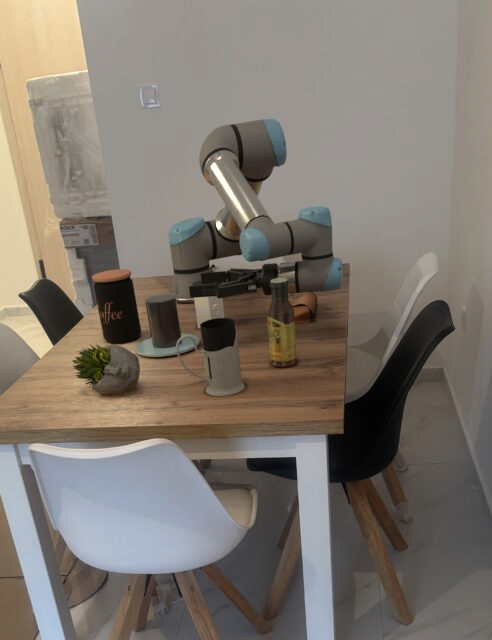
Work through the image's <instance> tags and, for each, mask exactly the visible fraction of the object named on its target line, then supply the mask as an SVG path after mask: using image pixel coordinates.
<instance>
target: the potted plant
mask: <svg viewBox="0 0 492 640" xmlns="http://www.w3.org/2000/svg"><path fill="white" fill-rule="evenodd" d="M89 346H90V347H91V348H90V347H86V348H85V347H82V349H80V350H78V352H77V353H76V354H78V355H80V356H74V359H73V360H71V362H72V363H73V364H72V367H73V368H72V369H73V370H75V371H77V372H74V373H73V374H75V375H74V377H76V379H81V380H85V381H84V385H89V386H91V389H92V390H93V391H94V392H96V393H97V394H98V395H100V396H102V397H103V396H112V395H117V394H122V393H124V392H127V391H130V390H133V389H135V388H136V386H137V385H138V382H139V380H140V374H141V367H140V366H141V365H140V359H139V357H138V356H137V355H136V354H135V353H134V352H132V351H130V350H129V349H127V348H126V347H124V346H120V345H118V344H108V345H105V346H101V345H98V344H97V343H95V346H93V345H92V344H90V343H89Z"/></svg>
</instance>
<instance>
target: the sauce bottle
mask: <svg viewBox="0 0 492 640" xmlns="http://www.w3.org/2000/svg"><path fill="white" fill-rule="evenodd" d="M270 287H271V293H272V295H271V301H270V305H269V309H268V313H267V331H268V345H269V347H268V348H269V359H270V362H271V365H272V366H274V367H278V368H286V367H287V368H288V367H290V366H293V365H295V364H296V362H297V341H296V337H297V336H296V323H295V320H294V309H293V306H292V305H291V303H292V302H291V301H290V300H289V294H288V279H286V278H275V279H272V280H271V281H270Z"/></svg>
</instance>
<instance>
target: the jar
mask: <svg viewBox="0 0 492 640" xmlns="http://www.w3.org/2000/svg"><path fill="white" fill-rule="evenodd" d="M211 284H214V283H211ZM211 284H202V281H201V280H200V281H196V282H194V283H193V284H192V286H198V285H211ZM220 284H222V283H218V285H220ZM194 309H195V316H196V324H197V329H198V330H201V328H200V324H201V323H202V322H205V321H207V320H211V319H216V318H226V317H225V306H224V298H220V299H218V298H217V297H216V296H211V297H197V298H194Z"/></svg>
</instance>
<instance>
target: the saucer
mask: <svg viewBox="0 0 492 640" xmlns="http://www.w3.org/2000/svg"><path fill="white" fill-rule="evenodd" d="M181 334H182V337H183V336H190V337H192V338H193V339H194V340H195V342H196V345H197V347H198V346H199V345H200V341H201V339H200V338H199V337H198V336H197V335H194V334H190V333H181ZM178 350H179V354H183V353H187V352H189V351H192V350H195V346H194V342H193V341H192V340H191V339H190V338H183V339H182V343H181V344H180V345H178ZM135 352H136V353H137V354H138V355H140V356H143V357H150V358H160V357H170V356H176V355H177V350H176V346H175V347H171V348H155V347H153V345H152V339H151V337H150V338H147V339H145V340H142V341H141V342H139V343H138V344H137V345H136V346H135Z"/></svg>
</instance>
